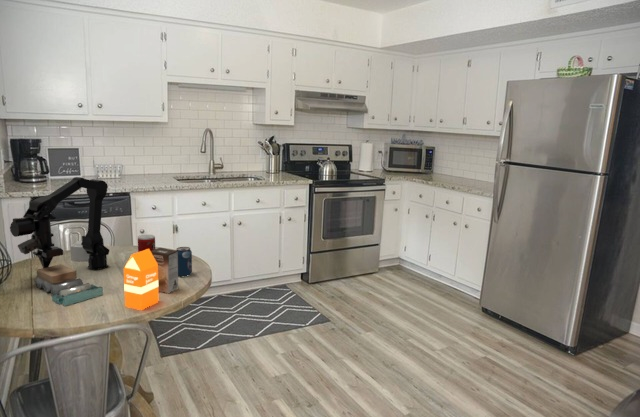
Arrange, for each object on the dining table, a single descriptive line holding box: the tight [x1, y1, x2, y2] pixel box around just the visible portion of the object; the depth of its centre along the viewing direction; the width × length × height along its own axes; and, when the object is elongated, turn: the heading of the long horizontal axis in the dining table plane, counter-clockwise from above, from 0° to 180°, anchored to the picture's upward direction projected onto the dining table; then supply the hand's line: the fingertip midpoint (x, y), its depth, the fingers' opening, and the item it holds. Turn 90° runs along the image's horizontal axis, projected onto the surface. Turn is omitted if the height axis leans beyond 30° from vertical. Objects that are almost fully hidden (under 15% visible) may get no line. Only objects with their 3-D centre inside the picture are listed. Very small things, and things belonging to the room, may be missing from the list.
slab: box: [36, 263, 78, 284], centre depth 170 cm, size 9×12×3 cm
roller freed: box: [59, 282, 92, 297], centre depth 164 cm, size 10×4×4 cm, turn 146°
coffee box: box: [151, 247, 179, 294], centre depth 173 cm, size 9×6×16 cm
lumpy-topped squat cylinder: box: [70, 240, 91, 262], centre depth 208 cm, size 10×13×9 cm
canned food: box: [137, 234, 156, 252], centre depth 211 cm, size 8×8×11 cm
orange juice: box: [123, 249, 160, 311], centre depth 158 cm, size 8×9×20 cm
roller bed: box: [35, 277, 104, 307], centre depth 168 cm, size 15×26×4 cm, turn 56°
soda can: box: [175, 246, 193, 277], centre depth 191 cm, size 7×7×12 cm
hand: (45, 269), depth 175 cm, fingers closed
